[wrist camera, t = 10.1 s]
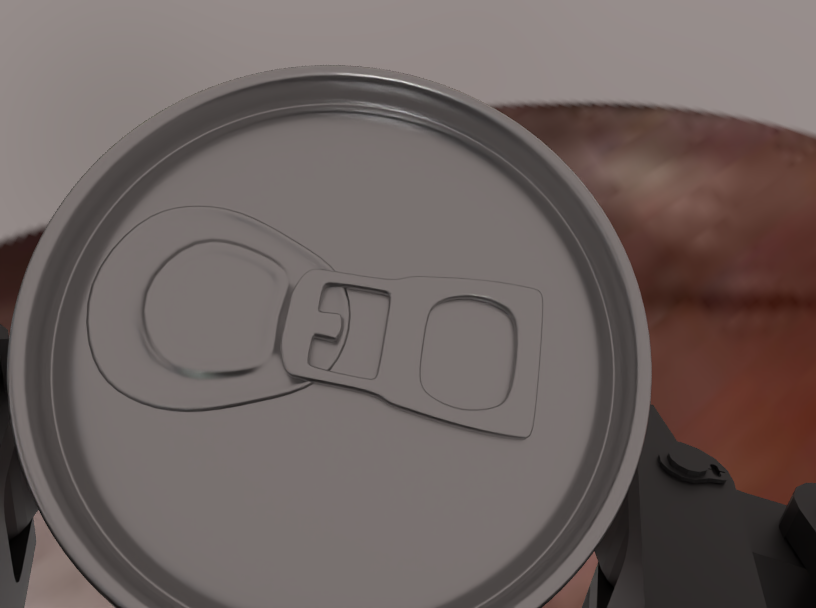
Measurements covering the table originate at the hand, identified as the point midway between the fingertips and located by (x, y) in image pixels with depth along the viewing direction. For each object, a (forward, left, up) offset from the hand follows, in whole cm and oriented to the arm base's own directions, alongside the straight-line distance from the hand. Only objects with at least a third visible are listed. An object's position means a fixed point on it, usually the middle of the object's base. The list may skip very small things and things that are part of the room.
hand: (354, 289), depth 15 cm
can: (+3, -2, -4) cm, 5 cm away
